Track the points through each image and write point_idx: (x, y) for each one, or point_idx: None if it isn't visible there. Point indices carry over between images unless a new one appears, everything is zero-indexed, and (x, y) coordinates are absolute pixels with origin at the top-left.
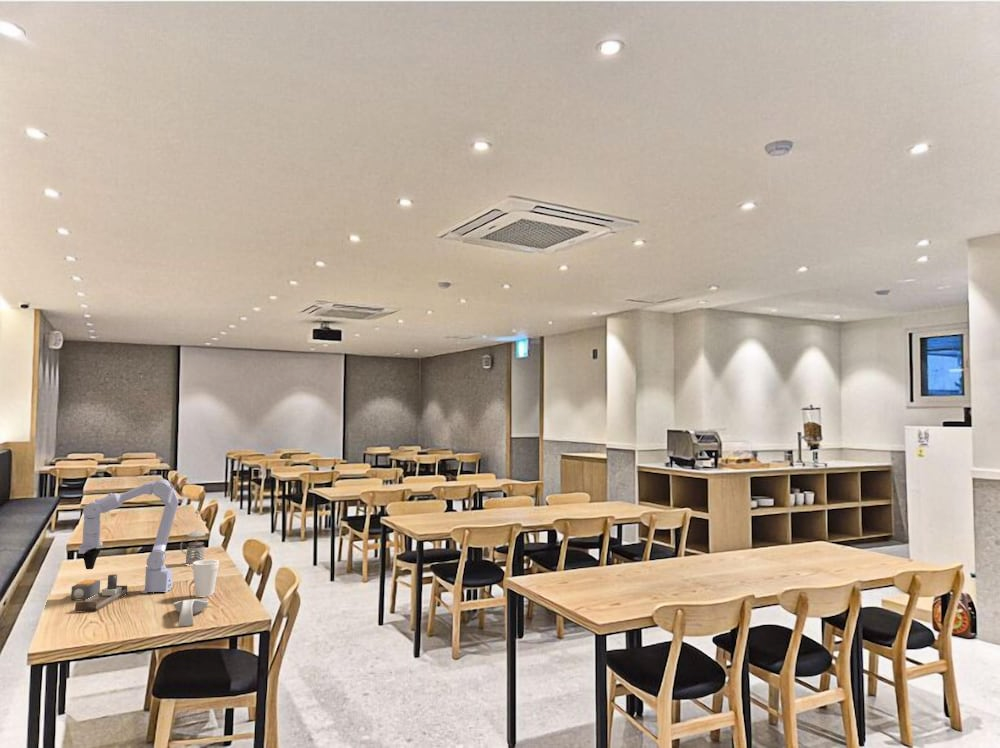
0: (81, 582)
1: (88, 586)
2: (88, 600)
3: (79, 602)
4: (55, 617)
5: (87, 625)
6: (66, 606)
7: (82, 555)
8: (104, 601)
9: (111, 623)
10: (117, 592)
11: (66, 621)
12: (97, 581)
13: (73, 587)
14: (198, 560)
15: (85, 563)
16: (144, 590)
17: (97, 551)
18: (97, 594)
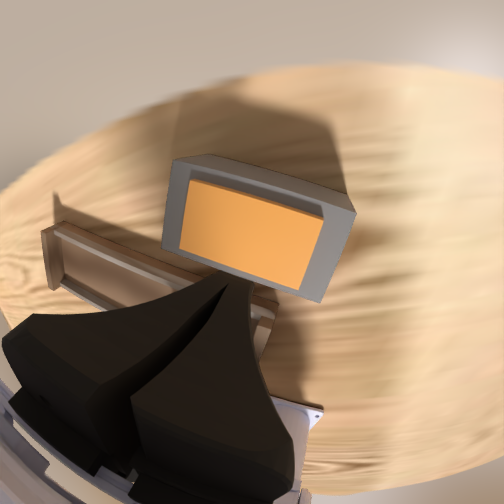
0: (232, 205)
1: (178, 252)
2: (101, 254)
3: (42, 242)
4: (34, 183)
5: (14, 266)
6: (113, 169)
7: (67, 326)
8: (91, 303)
9: (28, 303)
10: None
11: (20, 220)
12: (288, 291)
13: (174, 169)
14: None
15: (182, 295)
16: (274, 403)
17: (130, 479)
18: (167, 281)
